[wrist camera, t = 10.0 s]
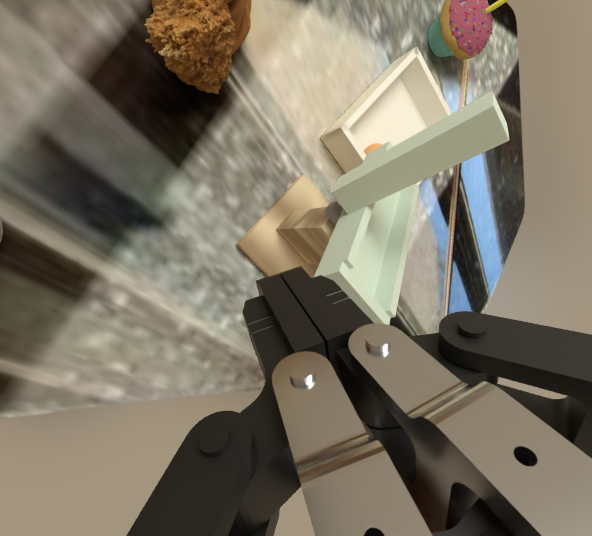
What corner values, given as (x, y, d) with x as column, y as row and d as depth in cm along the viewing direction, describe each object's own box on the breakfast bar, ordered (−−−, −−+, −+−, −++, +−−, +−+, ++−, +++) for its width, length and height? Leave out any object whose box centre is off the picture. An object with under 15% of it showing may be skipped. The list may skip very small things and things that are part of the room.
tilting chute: (329, 385, 26) (583, 374, 16) (244, 308, 22) (506, 227, 12) (381, 212, 41) (529, 147, 30) (335, 147, 37) (487, 49, 26)
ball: (352, 151, 43) (376, 137, 40) (365, 151, 46) (388, 138, 43) (362, 178, 43) (386, 165, 41) (375, 176, 46) (398, 164, 43)
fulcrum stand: (291, 299, 42) (342, 319, 32) (235, 244, 38) (275, 247, 28) (346, 232, 45) (408, 231, 35) (300, 174, 41) (356, 156, 32)
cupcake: (441, -1, 50) (529, -65, 39) (464, 53, 53) (550, 8, 42) (409, 28, 47) (493, -32, 37) (435, 83, 50) (519, 43, 40)
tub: (374, 213, 47) (398, 211, 43) (319, 137, 42) (340, 127, 38) (434, 139, 51) (461, 131, 47) (391, 62, 46) (417, 46, 42)
